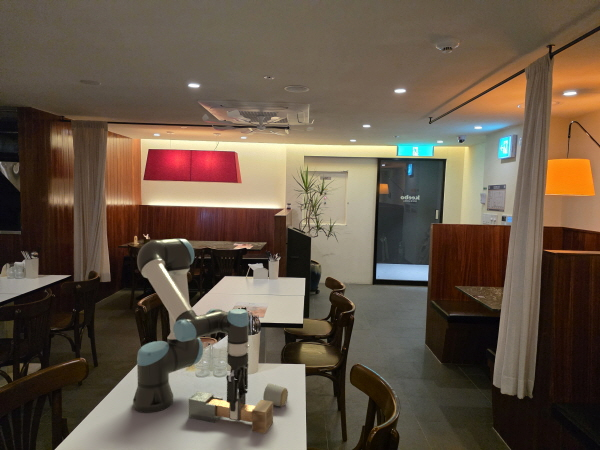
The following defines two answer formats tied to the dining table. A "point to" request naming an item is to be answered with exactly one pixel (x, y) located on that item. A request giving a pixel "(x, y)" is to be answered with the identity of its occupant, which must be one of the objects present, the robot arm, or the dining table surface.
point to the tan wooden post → (243, 409)
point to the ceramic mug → (275, 394)
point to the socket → (262, 416)
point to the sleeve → (203, 407)
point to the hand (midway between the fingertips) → (237, 414)
